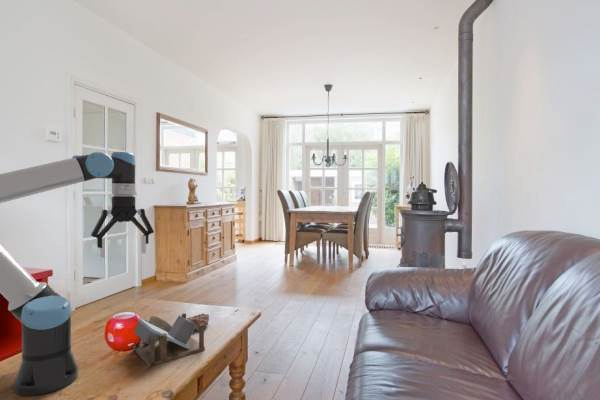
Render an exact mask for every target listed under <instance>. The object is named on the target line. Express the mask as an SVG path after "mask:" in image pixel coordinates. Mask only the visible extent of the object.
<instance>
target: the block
mask: <svg viewBox="0 0 600 400" xmlns="http://www.w3.org/2000/svg"><path fill="white" fill-rule="evenodd" d="M171 326H172V327H171V329H170V330H169V332H168V334H169V335H170V336H171V337H173V338H174V339H176V340H178V341H180V342H182V343H184V344H186V343H187V342H188V340H189V338H190V337H192V335H193V333H194V332H195V328H196V327H197V325H195V324H194V323H192V322H191V321H189V320H187V318H186V319H185V318H183V317H182V315H179V314H178V316H177V318H176V319H175V321H174V323H173V324H172V325H171Z"/></svg>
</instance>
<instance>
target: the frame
mask: <svg viewBox="0 0 600 400" xmlns="http://www.w3.org/2000/svg"><path fill="white" fill-rule="evenodd" d="M181 317H183V318H185V319H187V313H186V312H183V313H181ZM144 321H146V322H148V323H150V324H151V321H150V320H144ZM186 344H187V345H188V346H189V347H190V349H187V348H184V347H182V346H180V345H178V344H176V343H174V342H172V341H170V340H168V339H167V334H166V333H164V334H160V335H159V338H158V340H157V342H156V343H155V337H154V336H152V337H149V344H147V343H145V342H143V344H140V341H139V342H138V343H137V344H136V346H135V345H134V346H133V351H134V350H135V351H136V352H135V351H134V352H135V353H136V354H137V355H138V356H139V357H140V358H141V360H142V361H144V363H145V364H146V365H147V366H148V367H153V366H156V365H160V364H163V363H166V362H169V361H173V360H176V359H179V358H182V357H186V356H189V355H192V354H193V355H194V354H196V353H199V352H203V351H205V349H206V348H205V347H206V346H205V345H204V344H205V327H204V324H200V325H199V331H198V340H196V339H194V338H193V337H192V336H191V337H190V338H189V340H188V342H187V343H186Z"/></svg>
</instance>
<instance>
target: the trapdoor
mask: <svg viewBox="0 0 600 400" xmlns="http://www.w3.org/2000/svg"><path fill="white" fill-rule="evenodd" d="M138 320H139V323H138V325H137V327H136V329H135V331H134V332H133V333H134V335H135V334H136V335H137V336H138V337H139V338H140V340H141V341H142V342H143V343H144V342H145V343H147V344H149V337H152V336H154V337H155V343H156V342H157V341H159V335H160V334H164V333H166V334H167V339H168V340H170V341H172V342H174V343H176V344H178V345H180V346H182V347H184V348H187V349H190V347H189V346H188V345H187V344H184V343H182V342H180V341H178V340H176V339H174V338H173V337H171V336H170V335H169V334H168V332H166V331H164V330H162V329H160V328H158V327H156V326H154V325H152V324H150V323H148V322H146V321H145V320H144V319H142V318H139V319H138Z"/></svg>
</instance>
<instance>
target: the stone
mask: <svg viewBox="0 0 600 400" xmlns="http://www.w3.org/2000/svg"><path fill="white" fill-rule="evenodd" d="M149 321H151V324H152V325H154V326H156V327H158V328H160V329H162V330H164V331H166V332H169V330H170V329H171V327H172V326H173V325H171V323H170V322H168V321H167V320H164V319H163V318H161V317H159V316H157V315H151V316H150V317H149Z"/></svg>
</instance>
